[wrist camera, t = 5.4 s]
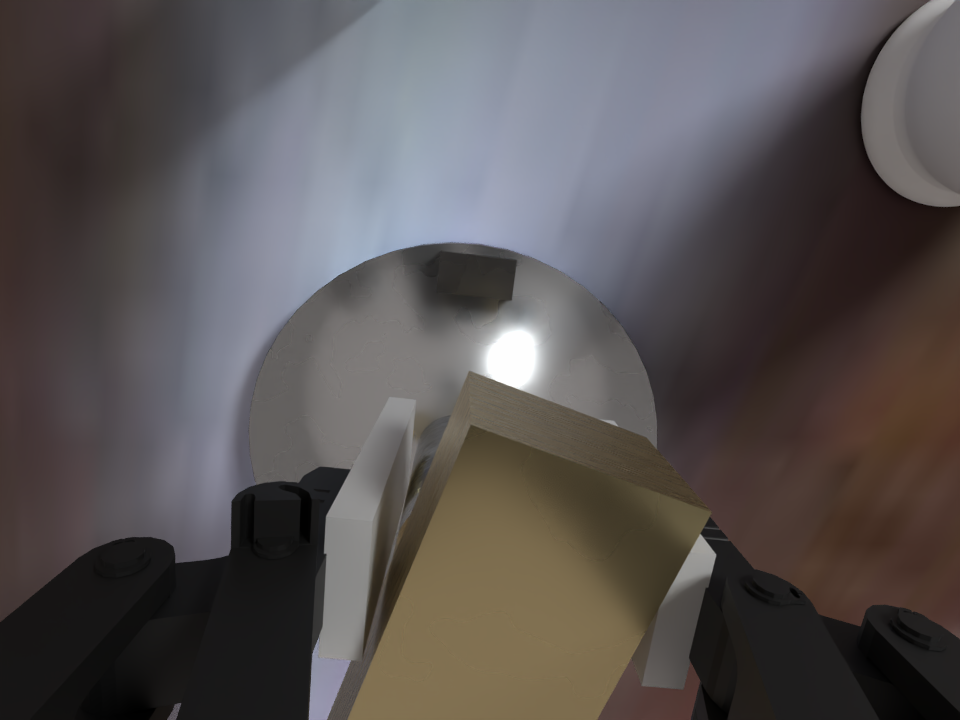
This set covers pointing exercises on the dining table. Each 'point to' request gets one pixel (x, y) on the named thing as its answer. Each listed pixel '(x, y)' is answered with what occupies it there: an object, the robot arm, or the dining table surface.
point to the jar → (917, 107)
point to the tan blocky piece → (522, 567)
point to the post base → (435, 356)
